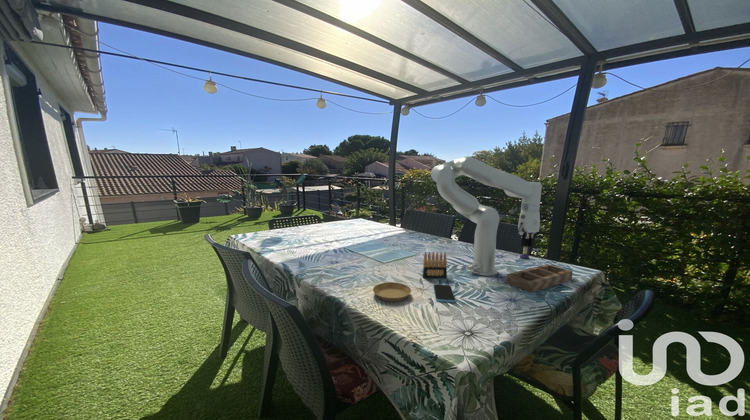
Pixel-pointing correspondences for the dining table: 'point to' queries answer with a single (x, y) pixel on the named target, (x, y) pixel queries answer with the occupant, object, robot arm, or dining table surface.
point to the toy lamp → (525, 250)
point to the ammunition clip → (434, 266)
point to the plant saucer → (392, 291)
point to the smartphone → (444, 293)
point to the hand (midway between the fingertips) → (526, 245)
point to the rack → (539, 277)
